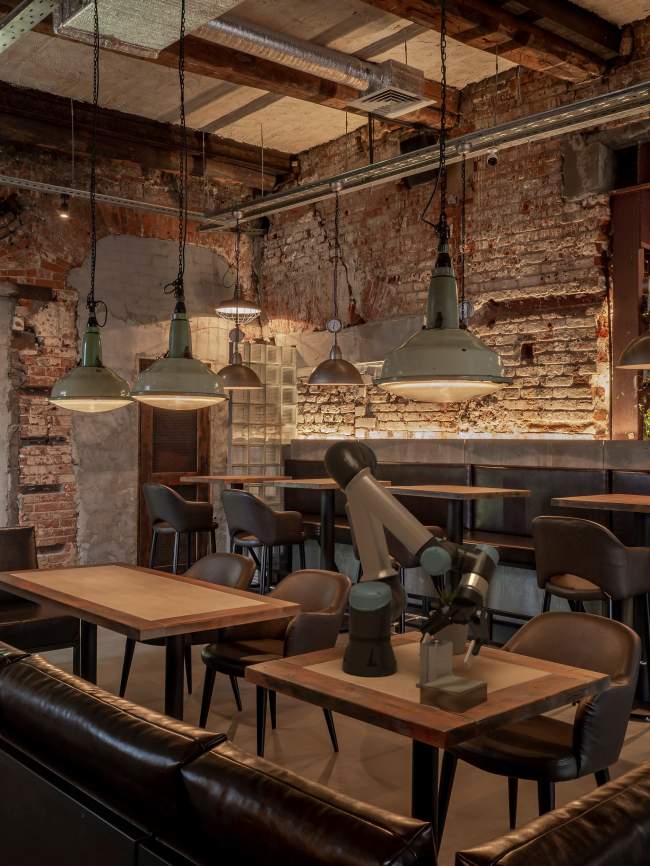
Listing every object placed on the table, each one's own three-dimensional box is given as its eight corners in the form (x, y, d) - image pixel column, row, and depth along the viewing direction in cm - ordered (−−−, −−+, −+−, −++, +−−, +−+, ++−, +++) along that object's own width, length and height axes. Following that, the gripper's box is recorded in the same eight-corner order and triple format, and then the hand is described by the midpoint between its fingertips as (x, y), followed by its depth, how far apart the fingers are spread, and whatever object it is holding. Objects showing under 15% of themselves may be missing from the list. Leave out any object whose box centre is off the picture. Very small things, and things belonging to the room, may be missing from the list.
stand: (420, 703, 191) (420, 684, 191) (447, 691, 201) (447, 673, 201) (460, 713, 184) (460, 693, 184) (487, 700, 194) (487, 682, 194)
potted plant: (481, 651, 244) (481, 585, 244) (454, 659, 234) (454, 590, 235) (447, 644, 253) (448, 580, 253) (420, 651, 243) (421, 585, 244)
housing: (415, 687, 205) (416, 641, 205) (434, 680, 212) (435, 635, 212) (437, 692, 201) (437, 645, 201) (455, 684, 208) (456, 638, 208)
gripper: (517, 608, 213) (491, 677, 201) (435, 597, 228) (407, 660, 216) (508, 590, 209) (482, 660, 197) (425, 581, 224) (396, 645, 212)
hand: (443, 660), depth 206 cm, fingers open, 13 cm apart
